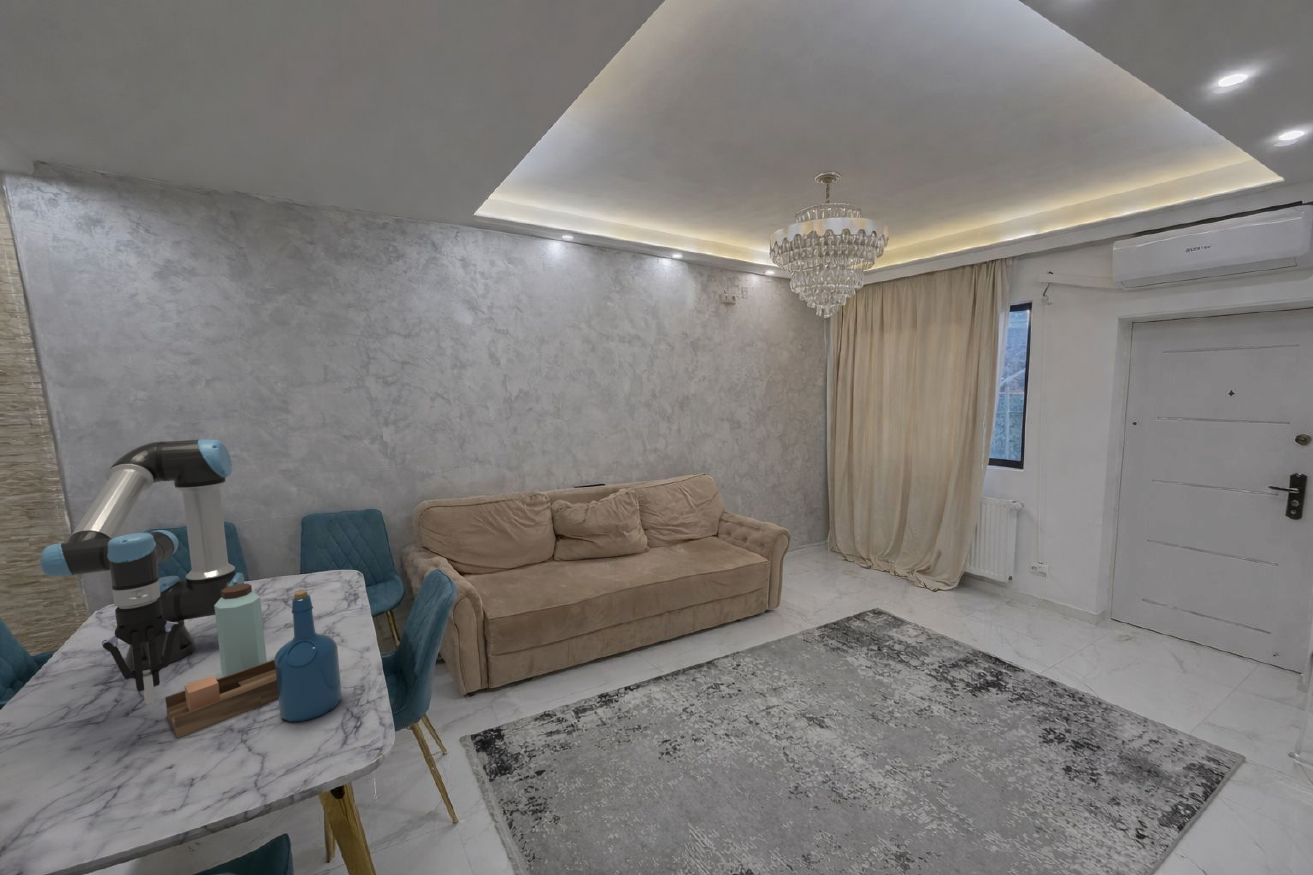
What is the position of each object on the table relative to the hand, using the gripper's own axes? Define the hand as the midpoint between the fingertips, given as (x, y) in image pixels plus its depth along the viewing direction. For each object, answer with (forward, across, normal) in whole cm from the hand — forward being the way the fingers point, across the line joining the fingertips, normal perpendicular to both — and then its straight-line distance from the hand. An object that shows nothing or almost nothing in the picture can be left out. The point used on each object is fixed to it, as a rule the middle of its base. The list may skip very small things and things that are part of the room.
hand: (150, 701), depth 122 cm
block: (+6, +9, 0) cm, 11 cm away
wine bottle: (+9, +27, -17) cm, 33 cm away
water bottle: (+8, +21, +16) cm, 27 cm away
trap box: (+8, +18, 0) cm, 20 cm away
